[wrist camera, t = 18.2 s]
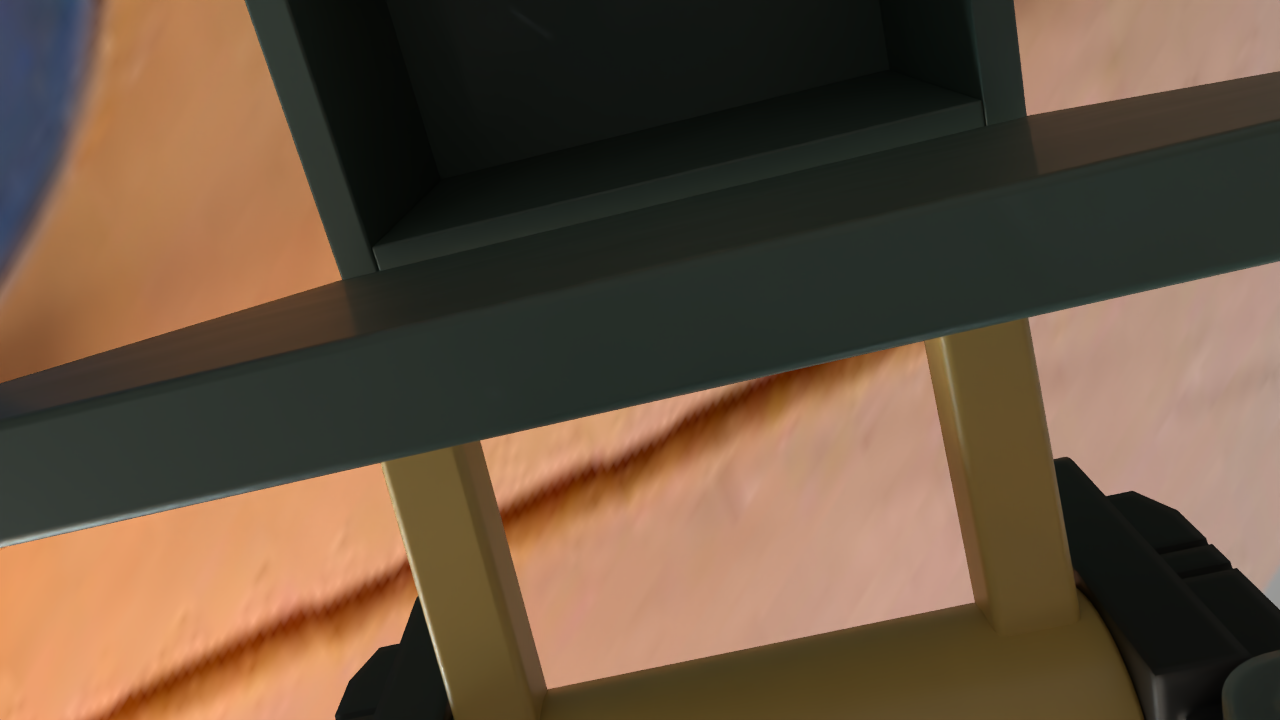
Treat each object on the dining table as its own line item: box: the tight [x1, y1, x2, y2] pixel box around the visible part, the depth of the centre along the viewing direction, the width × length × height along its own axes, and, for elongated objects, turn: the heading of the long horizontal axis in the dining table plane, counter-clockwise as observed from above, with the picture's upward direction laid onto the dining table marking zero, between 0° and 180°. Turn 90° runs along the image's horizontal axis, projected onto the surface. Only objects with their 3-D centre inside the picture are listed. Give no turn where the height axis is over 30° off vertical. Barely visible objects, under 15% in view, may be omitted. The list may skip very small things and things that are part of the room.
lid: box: [0, 71, 1280, 720], centre depth 15 cm, size 17×16×6 cm
